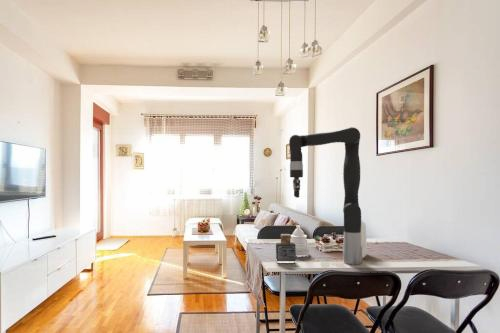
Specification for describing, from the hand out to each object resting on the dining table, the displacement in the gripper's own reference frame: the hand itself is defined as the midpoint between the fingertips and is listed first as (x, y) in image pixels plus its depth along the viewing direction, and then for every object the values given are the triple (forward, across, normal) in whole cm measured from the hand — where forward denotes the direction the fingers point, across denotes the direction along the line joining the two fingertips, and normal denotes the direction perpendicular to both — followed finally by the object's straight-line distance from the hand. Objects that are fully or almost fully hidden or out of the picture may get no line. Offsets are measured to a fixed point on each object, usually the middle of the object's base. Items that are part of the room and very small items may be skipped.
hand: (296, 196), depth 209 cm
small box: (+36, -7, +7) cm, 38 cm away
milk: (+36, +10, -36) cm, 52 cm away
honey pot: (+36, +11, -2) cm, 38 cm away
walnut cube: (+26, -7, +7) cm, 28 cm away
